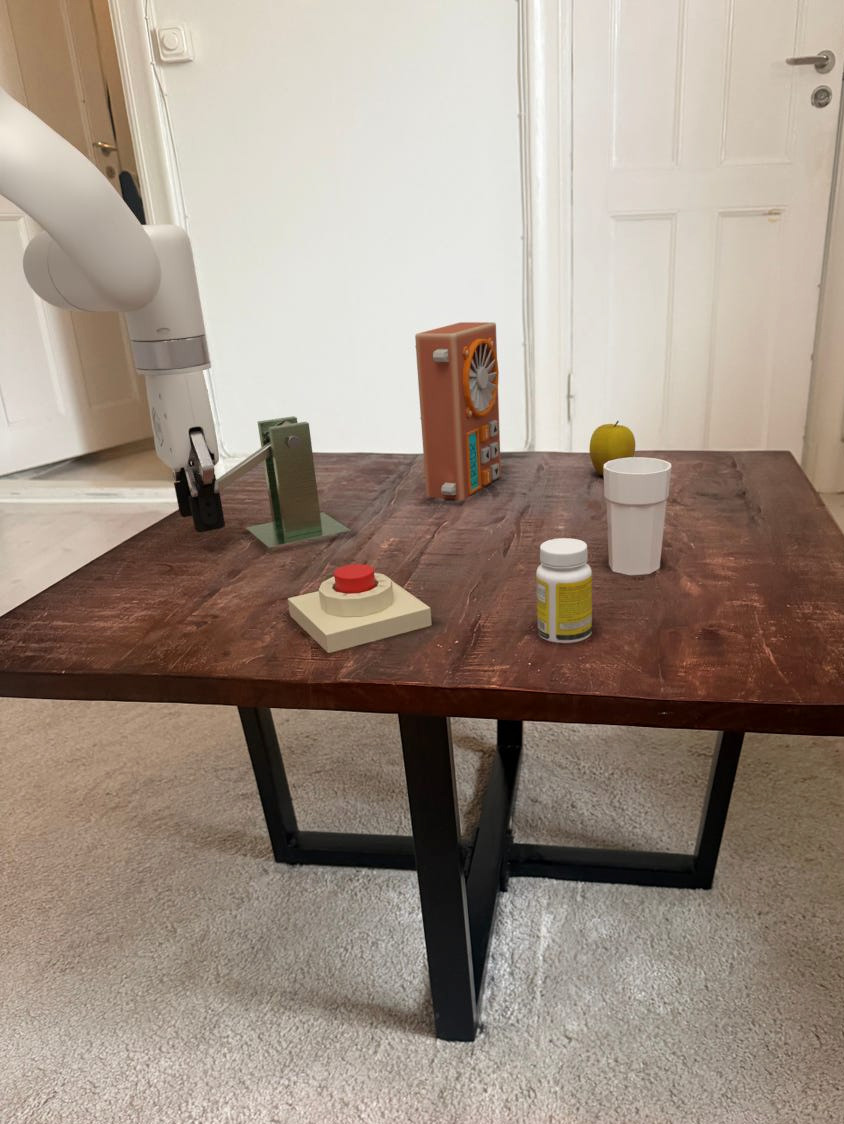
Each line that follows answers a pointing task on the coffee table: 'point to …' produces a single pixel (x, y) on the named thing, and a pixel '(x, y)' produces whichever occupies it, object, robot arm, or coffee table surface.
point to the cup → (636, 512)
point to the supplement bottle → (564, 591)
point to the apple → (611, 445)
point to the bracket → (291, 486)
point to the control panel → (459, 408)
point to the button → (354, 579)
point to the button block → (358, 614)
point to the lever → (244, 466)
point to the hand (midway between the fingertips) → (202, 520)
